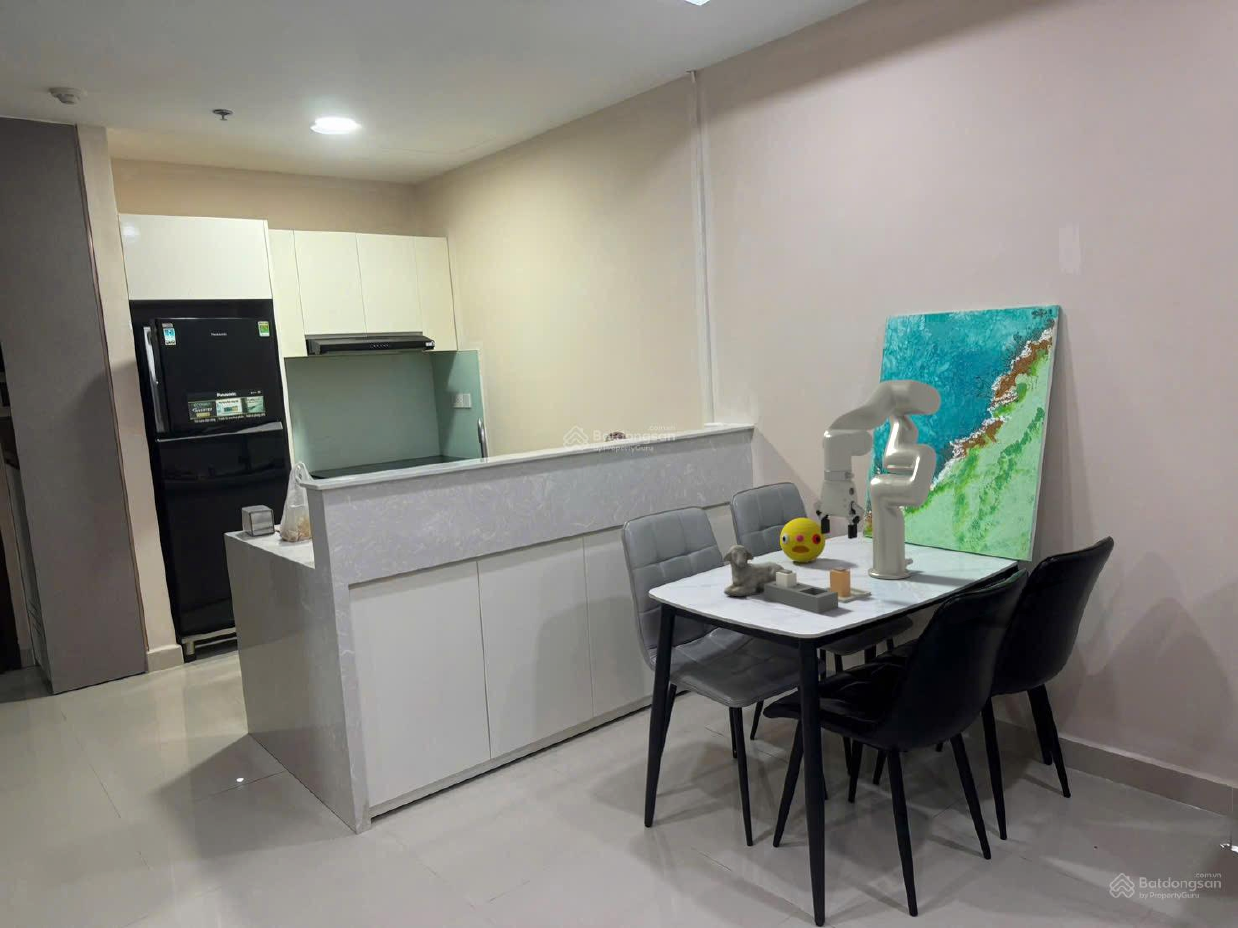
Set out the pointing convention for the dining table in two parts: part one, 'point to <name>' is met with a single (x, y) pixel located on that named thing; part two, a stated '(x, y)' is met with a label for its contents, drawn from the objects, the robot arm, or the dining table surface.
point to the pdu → (799, 594)
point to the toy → (802, 540)
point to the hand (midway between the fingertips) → (838, 535)
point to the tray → (852, 594)
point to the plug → (840, 581)
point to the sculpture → (748, 572)
